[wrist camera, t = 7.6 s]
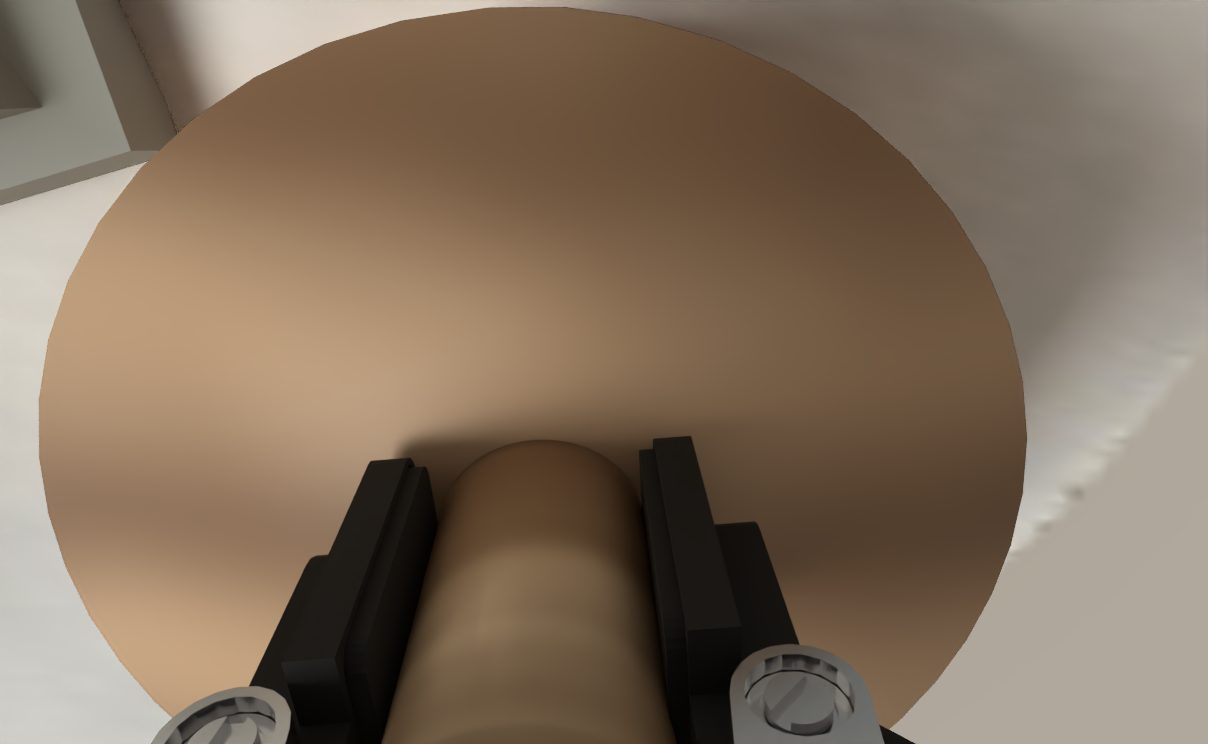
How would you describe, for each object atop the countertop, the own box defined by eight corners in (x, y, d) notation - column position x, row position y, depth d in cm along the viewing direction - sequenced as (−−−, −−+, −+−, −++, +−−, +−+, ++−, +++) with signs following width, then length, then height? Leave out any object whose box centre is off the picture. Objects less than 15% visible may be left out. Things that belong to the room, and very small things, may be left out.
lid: (-66, 50, 11) (-816, 111, 5) (1050, -36, 10) (1604, -74, 5) (220, 824, 16) (30, 1268, 11) (944, 768, 16) (1141, 1182, 11)
